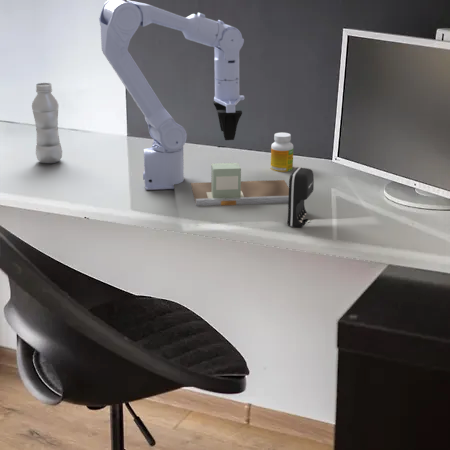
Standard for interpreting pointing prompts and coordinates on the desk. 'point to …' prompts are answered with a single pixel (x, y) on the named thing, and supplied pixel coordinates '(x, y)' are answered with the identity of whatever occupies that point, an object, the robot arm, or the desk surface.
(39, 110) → the plastic bottle
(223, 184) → the carton
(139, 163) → the desk surface
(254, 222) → the desk surface
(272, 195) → the shelf board
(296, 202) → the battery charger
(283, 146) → the supplement bottle
